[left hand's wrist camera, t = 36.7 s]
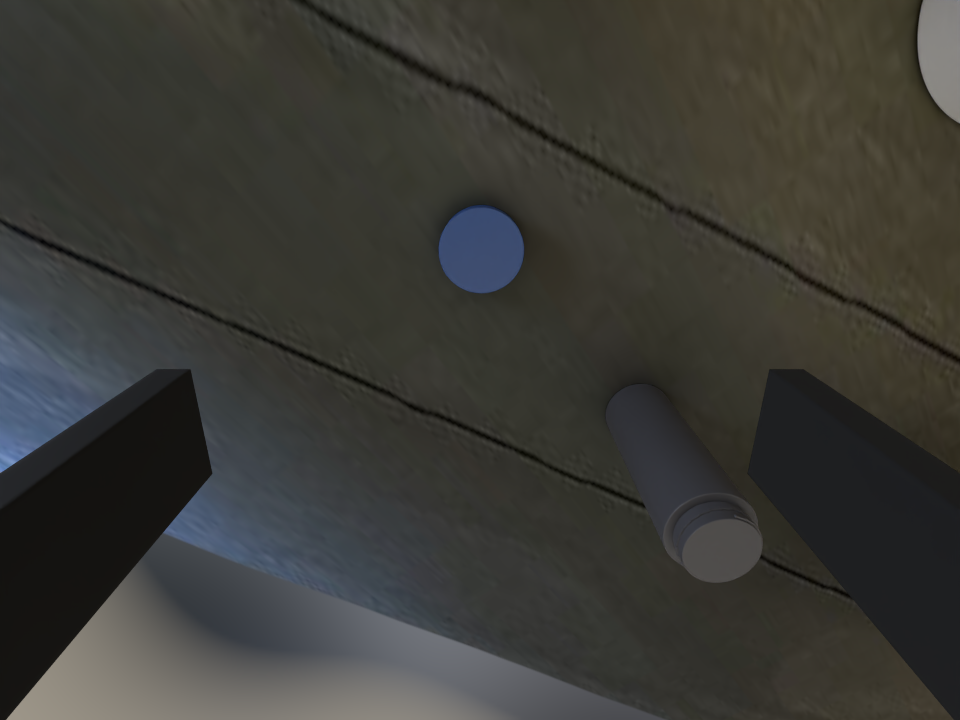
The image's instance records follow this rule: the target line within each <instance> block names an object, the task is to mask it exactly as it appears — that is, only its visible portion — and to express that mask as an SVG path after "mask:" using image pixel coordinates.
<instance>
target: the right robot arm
mask: <svg viewBox="0 0 960 720" xmlns="http://www.w3.org/2000/svg"><path fill="white" fill-rule="evenodd" d="M918 57H919V64H920V68H921V73H922V76H923V79H924V82H925V84H926V87H927V89H928V91H929V93H930V94H931V96H932V98H933V99H934V101H935V102H936V104H937V105H938V106H939V107H940V108H941V109H942V110H943V111H944V112H945V113H946V114H947V115H948V116H949V117H950V118H952V119H953V120H955V121H956V122H958V123H960V0H923V2H922V6H921V11H920V17H919V24H918Z"/></svg>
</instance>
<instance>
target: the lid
mask: <svg viewBox="0 0 960 720" xmlns="http://www.w3.org/2000/svg"><path fill="white" fill-rule="evenodd" d="M523 257H524V243H523V239H522V235H521V233H520V231H519V229H518V227H517V225H516V223H515V222H514V221H513V219H512V218H511V217H510V216H509V215H507V214H506V213H505V212H503V211H502V210H500V209H498V208H495V207H492V206H487V205H476V206H471V207H467V208H465V209H463V210H461V211H460V212H458V213H457V214H455V215H454V216H453V217H452V218H451V219H450V220H449V222H448V223H447V225H446V226H445V228H444V230H443V232H442V235H441V238H440V242H439V259H440V263H441V266H442V268H443V270H444V272H445V274H446V275H447V276H448V278H449V279H450V280H451V281H452V282H453V283H454V284H456V285H457V286H458V287H460V288H462V289H464V290H466V291H469V292H473V293H490V292H493V291H496V290H499V289H501V288H503V287H504V286H506V285H507V284H508V283H510V282H511V281H512V280H513V279H514V277H515V276H516V275H517V273H518V272H519V270H520V267H521V265H522V262H523Z"/></svg>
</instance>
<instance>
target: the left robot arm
mask: <svg viewBox="0 0 960 720" xmlns="http://www.w3.org/2000/svg"><path fill="white" fill-rule="evenodd" d="M211 475H212V469H211V465H210V460H209V455H208V450H207V446H206V441H205V436H204V431H203V427H202V422H201V417H200V412H199V408H198V403H197V398H196V393H195V389H194V384H193V379H192V374H191V370H190V369H156V370H155V371H153V372H152V373H150V374H149V375H147V376H146V377H144V378H143V379H141V380H140V381H138V382H137V383H135V384H134V385H132V386H131V387H129V388H128V389H126V390H125V391H123V392H122V393H120V394H119V395H117V396H116V397H114V398H113V399H111V400H110V401H108V402H107V403H105V404H104V405H102V406H101V407H99V408H98V409H96V410H95V411H93V412H92V413H90V414H89V415H87V416H86V417H84V418H83V419H81V420H80V421H78V422H77V423H75V424H74V425H72V426H71V427H69V428H68V429H66V430H65V431H63V432H62V433H60V434H59V435H57V436H56V437H54V438H53V439H51V440H50V441H48V442H47V443H45V444H44V445H42V446H41V447H39V448H38V449H36V450H35V451H33V452H32V453H30V454H29V455H27V456H26V457H24V458H22V459H21V460H19V461H18V462H16V463H15V464H13V465H12V466H10V467H9V468H7V469H6V470H4V471H3V472H1V473H0V720H6V719H7V718H8V717H9V715H10V714H11V713H12V712H13V711H14V709H15V708H16V707H17V706H18V705H19V703H20V702H21V701H22V700H23V699H24V698H25V696H26V695H27V694H28V693H29V692H30V690H31V689H32V688H33V687H34V686H35V684H36V683H37V682H38V681H39V680H40V678H41V677H42V676H43V675H44V674H45V672H46V671H47V670H48V669H49V668H50V667H51V665H52V664H53V663H54V662H55V660H56V659H57V658H58V657H59V656H60V655H61V653H62V652H63V651H64V650H65V649H66V647H67V646H68V645H69V644H70V643H71V641H72V640H73V639H74V638H75V637H76V636H77V634H78V633H79V632H80V631H81V630H82V628H83V627H84V626H85V625H86V624H87V622H88V621H89V620H90V619H91V618H92V616H93V615H94V614H95V613H96V612H97V610H98V609H99V608H100V607H101V606H102V605H103V603H104V602H105V601H106V600H107V599H108V597H109V596H110V595H111V594H112V593H113V591H114V590H115V589H116V588H117V587H118V585H119V584H120V583H121V582H122V581H123V580H124V578H125V577H126V576H127V575H128V574H129V572H130V571H131V570H132V569H133V568H134V566H135V565H136V564H137V563H138V562H139V560H140V559H141V558H142V557H143V556H144V554H145V553H146V552H147V551H148V550H149V548H150V547H151V546H152V545H153V544H154V543H155V541H156V540H157V539H158V538H159V537H160V535H161V534H162V533H163V532H164V531H165V529H166V528H167V527H168V526H169V525H170V523H171V522H172V521H173V520H174V519H175V518H176V516H177V515H178V514H179V513H180V512H181V510H182V509H183V508H184V507H185V506H186V504H187V503H188V502H189V501H190V500H191V498H192V497H193V496H194V495H195V494H196V492H197V491H198V490H199V489H200V488H201V487H202V485H203V484H204V483H205V482H206V481H207V479H208V478H209V477H210V476H211ZM748 475H749V476H750V477H751V478H752V479H753V481H754V482H755V483H756V484H757V485H758V487H759V488H760V489H761V490H762V491H763V493H764V494H765V495H766V496H767V497H768V498H769V500H770V501H771V502H772V503H773V504H774V506H775V507H776V508H777V509H778V510H779V512H780V513H781V514H782V515H783V516H784V518H785V519H786V520H787V521H788V522H789V523H790V525H791V526H792V527H793V528H794V529H795V531H796V532H797V533H798V534H799V535H800V537H801V538H802V539H803V540H804V541H805V543H806V544H807V545H808V546H809V547H810V549H811V550H812V551H813V552H814V553H815V554H816V556H817V557H818V558H819V559H820V560H821V562H822V563H823V564H824V565H825V566H826V568H827V569H828V570H829V571H830V572H831V574H832V575H833V576H834V577H835V578H836V580H837V581H838V582H839V583H840V584H841V585H842V587H843V588H844V589H845V590H846V591H847V593H848V594H849V595H850V596H851V597H852V599H853V600H854V601H855V602H856V603H857V605H858V606H859V607H860V608H861V609H862V611H863V612H864V613H865V614H866V615H867V616H868V618H869V619H870V620H871V621H872V622H873V624H874V625H875V626H876V627H877V628H878V630H879V631H880V632H881V633H882V634H883V636H884V637H885V638H886V639H887V640H888V642H889V643H890V644H891V645H892V646H893V647H894V649H895V650H896V651H897V652H898V653H899V655H900V656H901V657H902V658H903V659H904V661H905V662H906V663H907V664H908V665H909V667H910V668H911V669H912V670H913V671H914V673H915V674H916V675H917V676H918V677H919V678H920V680H921V681H922V682H923V683H924V684H925V686H926V687H927V688H928V689H929V690H930V692H931V693H932V694H933V695H934V696H935V698H936V699H937V700H938V701H939V702H940V704H941V705H942V706H943V707H944V708H945V709H946V711H947V712H948V713H949V714H950V715H951V717H952V718H953V719H954V720H960V473H959V472H957V471H956V470H954V469H953V468H951V467H950V466H948V465H947V464H945V463H944V462H942V461H941V460H939V459H938V458H936V457H934V456H933V455H931V454H930V453H928V452H927V451H925V450H924V449H922V448H921V447H919V446H918V445H916V444H915V443H913V442H912V441H910V440H909V439H907V438H906V437H904V436H903V435H901V434H900V433H898V432H897V431H895V430H894V429H892V428H891V427H889V426H888V425H886V424H885V423H883V422H882V421H880V420H879V419H877V418H876V417H874V416H873V415H871V414H870V413H868V412H867V411H865V410H864V409H862V408H861V407H859V406H858V405H856V404H855V403H853V402H852V401H850V400H849V399H847V398H846V397H844V396H843V395H841V394H840V393H838V392H837V391H835V390H834V389H832V388H831V387H829V386H828V385H826V384H825V383H823V382H822V381H820V380H819V379H817V378H816V377H814V376H813V375H811V374H810V373H808V372H807V371H805V370H804V369H770V370H769V374H768V379H767V384H766V389H765V393H764V398H763V403H762V408H761V412H760V417H759V422H758V427H757V431H756V436H755V441H754V446H753V450H752V455H751V460H750V465H749V469H748Z"/></svg>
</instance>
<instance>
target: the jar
mask: <svg viewBox="0 0 960 720" xmlns="http://www.w3.org/2000/svg"><path fill="white" fill-rule="evenodd" d="M605 417H606V423H607V426H608V428H609V430H610V432H611V434H612V436H613V439H614V441H615V443H616V445H617V447H618V449H619V451H620V453H621V456H622V458H623V460H624V462H625V464H626V466H627V468H628V471H629V473H630V475H631V477H632V479H633V481H634V483H635V485H636V488H637V490H638V492H639V494H640V496H641V498H642V500H643V502H644V505H645V507H646V509H647V511H648V513H649V515H650V517H651V519H652V522H653V524H654V526H655V528H656V530H657V532H658V534H659V536H660V539H661V541H662V543H663V545H664V547H665V549H666V551H667V553H668V554H669V555H670V557H671V558H672V559H674V560H675V561H676V562H678V563H679V564H681V565H682V566H683V567H684V568H685V569H686V570H687V571H688V572H689V573H690V574H691V575H692V576H694V577H695V578H697V579H699V580H702V581H706V582H712V583H720V582H727V581H731V580H734V579H736V578H739V577H741V576H742V575H744V574H745V573H747V572H748V571H749V570H751V569H752V568H753V567H754V566H755V564H756V563H757V561H758V560H759V558H760V555H761V552H762V547H763V537H762V535H761V532H760V530H759V528H758V519H757V515H756V513H755V511H754V509H753V508H752V506H751V505H750V504H749V502H748V501H747V500H746V499H745V497H744V496H743V495H742V493H741V492H740V491H739V490H738V488H737V487H736V486H735V484H734V483H733V482H732V480H731V479H730V478H729V477H728V475H727V474H726V473H725V471H724V470H723V469H722V467H721V466H720V465H719V464H718V462H717V461H716V460H715V458H714V457H713V456H712V455H711V453H710V452H709V451H708V449H707V448H706V447H705V445H704V444H703V443H702V442H701V440H700V439H699V438H698V436H697V435H696V434H695V432H694V431H693V430H692V429H691V427H690V426H689V425H688V423H687V422H686V421H685V420H684V418H683V417H682V416H681V414H680V413H679V412H678V410H677V409H676V408H675V407H674V405H673V404H672V403H671V401H670V400H669V399H668V397H667V396H666V395H665V394H664V393H663V392H662V391H661V390H660V389H659V388H657V387H655V386H652V385H648V384H634V385H630V386H627V387H625V388H623V389H621V390H620V391H618V392H617V393H616V394H615V395H614V396H613V397H612V398H611V400H610V401H609V403H608V406H607V408H606V414H605Z"/></svg>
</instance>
